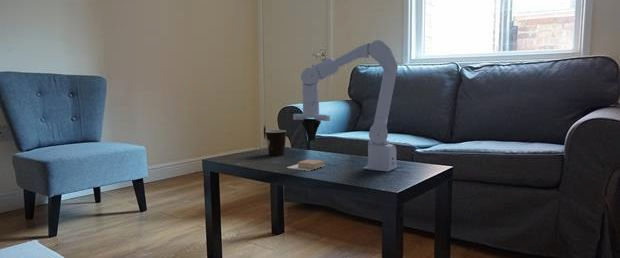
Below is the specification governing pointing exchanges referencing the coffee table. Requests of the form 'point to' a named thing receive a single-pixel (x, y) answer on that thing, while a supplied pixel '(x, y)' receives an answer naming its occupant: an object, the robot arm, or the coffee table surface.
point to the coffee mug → (276, 142)
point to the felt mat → (300, 168)
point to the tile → (310, 164)
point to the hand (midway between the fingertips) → (311, 140)
